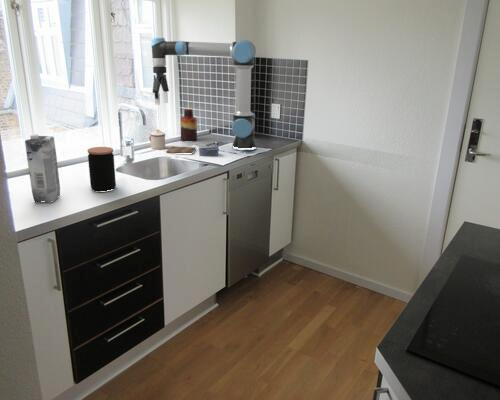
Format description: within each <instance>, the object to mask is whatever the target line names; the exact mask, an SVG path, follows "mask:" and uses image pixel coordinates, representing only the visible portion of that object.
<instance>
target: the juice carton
mask: <svg viewBox="0 0 500 400" xmlns="http://www.w3.org/2000/svg"><path fill="white" fill-rule="evenodd" d="M29 138H30V139H29ZM29 138H28V139H26V140H25V141H24V143H25V152H26V159H27V165H28V174H29V179H30V187H31V194H32V198H33V201H35V202H34V203H36V202H41V201H45V202H51V201H54V200H55V199H56V198H57V197H58V196H59V197H60V195H61V184H60V177H59V174H60V173H59V165H58V158H57V149H56V142H55V136H49V135H39V134H36V133H34V134H30V135H29ZM59 197H58V198H59ZM58 198H57V199H58ZM57 199H56V200H57ZM56 200H55V201H56ZM55 201H54V202H55Z"/></svg>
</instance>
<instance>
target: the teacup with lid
mask: <svg viewBox="0 0 500 400" xmlns="http://www.w3.org/2000/svg"><path fill="white" fill-rule="evenodd" d="M148 140H149V142H150V149H152V150H164V149H166V133H165V132H163V131H162V130H161V131H160V129H158V128H156V130H155V131H153V132H151V133H150V134H149V135H148Z"/></svg>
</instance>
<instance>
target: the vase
mask: <svg viewBox="0 0 500 400" xmlns="http://www.w3.org/2000/svg"><path fill="white" fill-rule="evenodd" d="M183 111H184V112H183V116H182V117H180V141H181V142H185V141H194V142H197V141H196V140H198V128H197V127H198V120H197V117H194V112H193V111H194V110H193V109H191V108H190V109H189V108H186V109H184V110H183Z"/></svg>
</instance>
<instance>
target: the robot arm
mask: <svg viewBox="0 0 500 400" xmlns="http://www.w3.org/2000/svg"><path fill="white" fill-rule="evenodd" d="M256 52H257V51H256V46H255V45H254V43H253V42H252V41H249V40H247V39H246V40H245V39H243V40H241V39H240V40H239V41H232V42H230V43H229V42H227V43H225V42H224V43H223V42H208V41H207V42H204V41H183V40H173V41H171V40H170V41H167V40H165V37H152V38H151V55H152V60H151V62H152V66H153V67H152V70H153V71H152V73H153V74H154V75H153V84H152V93H153V94H154V104H155V105H156V106H157V105H158V106H159V105H161V97H160V96H161V95H160V88H162V103H164V104H168V103H169V97H168V92H170V89H169V85H168V79H167V75H166V74H167V66H166V65H167V57H166V56H187V55H188V56H189V55H190V56H201V57H202V56H205V57H206V56H207V57H223V58H227V57H229V58H231V59H232V60H233V66H234V68H235V70H236V71H235V111H234V112H233V115H232V125H231V131H232V133H233V134H234V135H235V137H234V139H233V143H232V147H233V146H234V147H238V148H252V147H256V148H257V143H256V139H255V127H256V126H255V123H256V122H255V119H256V114H255V113H254V112H252V111H251V93H252V91H251V90H252V88H251V87H252V69H253V68H254V66H255V56H256Z"/></svg>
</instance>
